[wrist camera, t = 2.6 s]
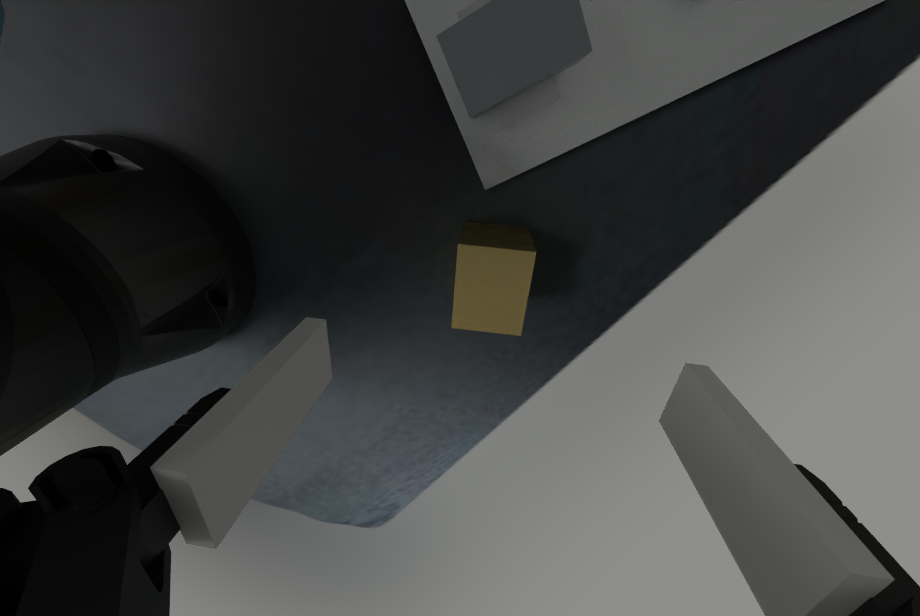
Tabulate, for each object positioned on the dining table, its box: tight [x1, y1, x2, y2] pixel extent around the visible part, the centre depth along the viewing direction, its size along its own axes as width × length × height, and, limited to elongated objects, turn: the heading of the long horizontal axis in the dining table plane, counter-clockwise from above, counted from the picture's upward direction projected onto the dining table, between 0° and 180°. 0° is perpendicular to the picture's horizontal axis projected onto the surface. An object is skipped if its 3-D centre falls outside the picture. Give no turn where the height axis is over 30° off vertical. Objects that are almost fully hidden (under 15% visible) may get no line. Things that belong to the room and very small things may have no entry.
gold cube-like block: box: [452, 221, 536, 336], centre depth 21 cm, size 5×4×5 cm
